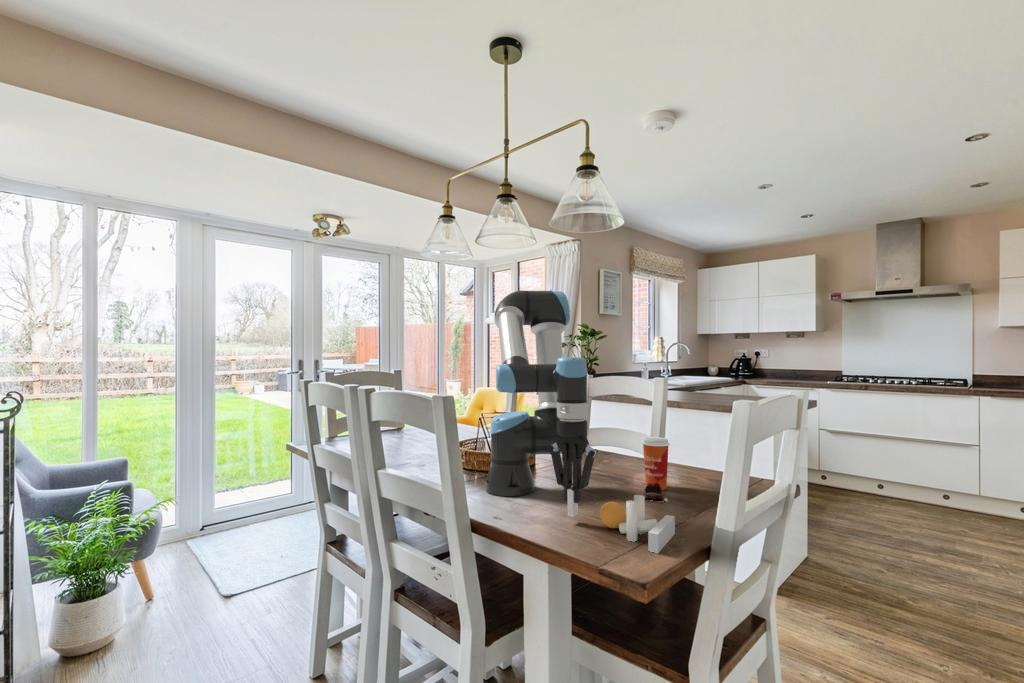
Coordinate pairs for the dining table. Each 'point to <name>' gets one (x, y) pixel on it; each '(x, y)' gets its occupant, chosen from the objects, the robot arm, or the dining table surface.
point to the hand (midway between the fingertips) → (572, 514)
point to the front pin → (639, 525)
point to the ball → (612, 514)
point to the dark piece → (654, 489)
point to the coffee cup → (656, 460)
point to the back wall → (661, 533)
